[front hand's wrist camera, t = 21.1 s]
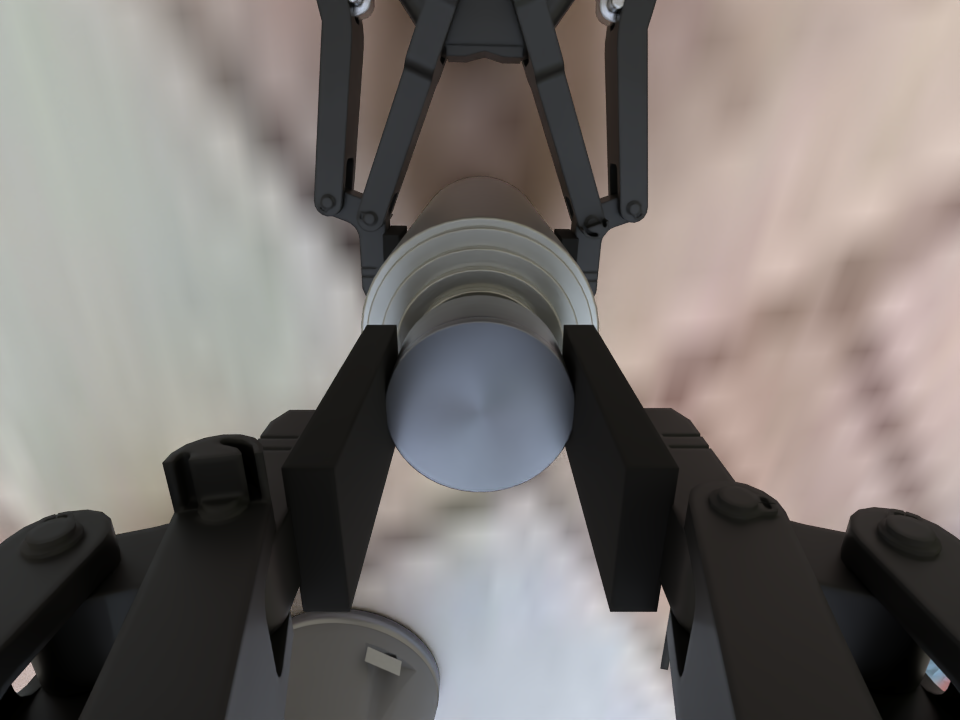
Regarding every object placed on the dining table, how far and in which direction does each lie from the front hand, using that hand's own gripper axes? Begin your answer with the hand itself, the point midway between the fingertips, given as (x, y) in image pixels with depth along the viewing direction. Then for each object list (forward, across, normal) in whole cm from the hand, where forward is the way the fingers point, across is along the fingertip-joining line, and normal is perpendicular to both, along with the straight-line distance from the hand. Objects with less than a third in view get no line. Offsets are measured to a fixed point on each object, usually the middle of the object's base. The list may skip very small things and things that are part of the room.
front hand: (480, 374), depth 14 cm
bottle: (+19, 0, 0) cm, 19 cm away
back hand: (+13, 0, -5) cm, 14 cm away
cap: (-2, 0, 0) cm, 2 cm away
